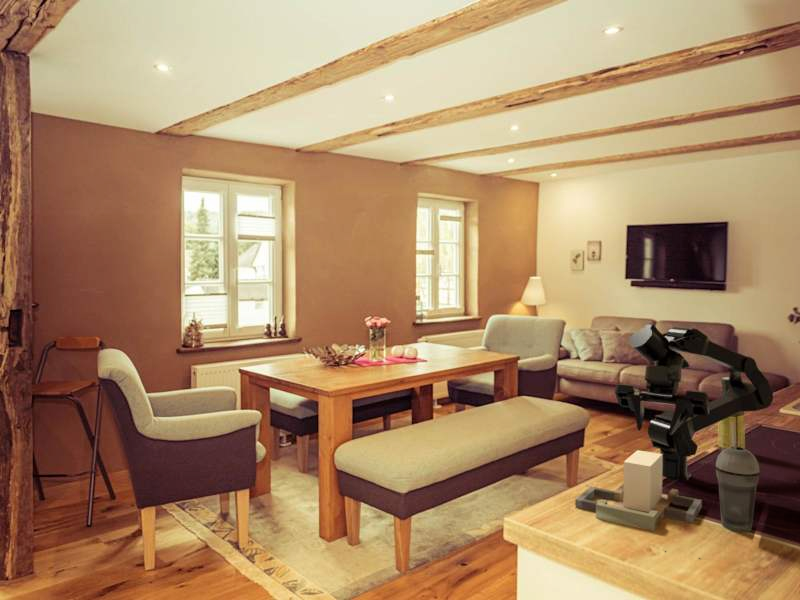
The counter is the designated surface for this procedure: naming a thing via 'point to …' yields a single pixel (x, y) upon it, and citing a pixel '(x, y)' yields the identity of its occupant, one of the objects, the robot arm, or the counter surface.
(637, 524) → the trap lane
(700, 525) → the counter surface
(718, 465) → the beverage cup
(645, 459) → the cream block
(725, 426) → the sauce bottle
